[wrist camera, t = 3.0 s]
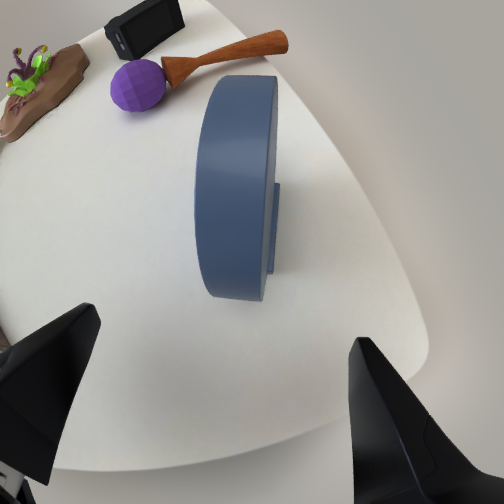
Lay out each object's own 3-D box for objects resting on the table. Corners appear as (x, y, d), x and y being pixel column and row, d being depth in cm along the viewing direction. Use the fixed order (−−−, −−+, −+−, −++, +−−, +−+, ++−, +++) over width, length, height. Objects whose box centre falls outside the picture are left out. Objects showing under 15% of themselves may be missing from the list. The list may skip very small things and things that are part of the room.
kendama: (299, 38, 22) (108, 99, 19) (288, 72, 28) (126, 131, 25) (272, 12, 22) (99, 65, 19) (265, 44, 28) (115, 97, 25)
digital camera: (163, 24, 31) (152, -7, 24) (185, 26, 30) (176, -8, 23) (115, 58, 29) (98, 26, 22) (135, 62, 28) (118, 26, 21)
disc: (269, 308, 19) (270, 287, 7) (225, 304, 20) (156, 275, 7) (281, 161, 22) (286, 33, 10) (243, 159, 22) (222, 33, 10)
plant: (90, 40, 33) (69, 2, 22) (90, 84, 28) (55, 32, 17) (14, 96, 32) (-12, 67, 21) (-2, 158, 27) (-42, 125, 16)
